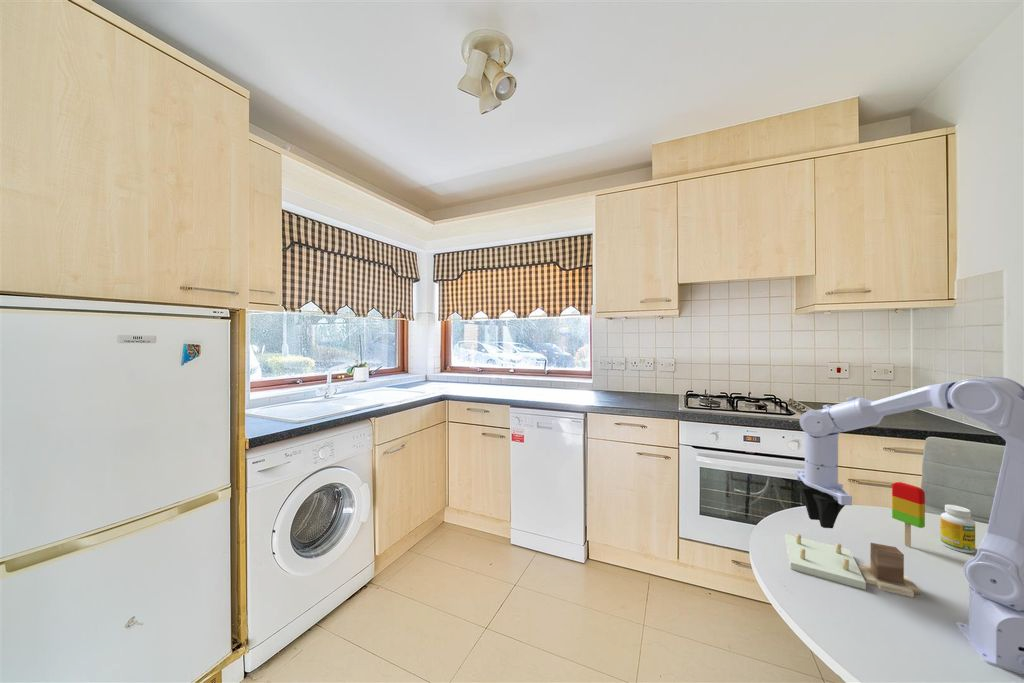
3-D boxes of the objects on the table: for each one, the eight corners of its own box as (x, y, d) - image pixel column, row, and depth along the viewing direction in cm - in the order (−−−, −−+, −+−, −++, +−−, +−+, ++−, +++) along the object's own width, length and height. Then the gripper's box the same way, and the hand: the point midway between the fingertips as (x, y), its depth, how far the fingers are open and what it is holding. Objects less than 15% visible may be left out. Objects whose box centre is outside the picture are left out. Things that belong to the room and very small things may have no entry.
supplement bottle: (949, 540, 91) (950, 502, 91) (981, 552, 86) (981, 511, 86) (934, 542, 90) (934, 504, 90) (965, 555, 85) (965, 514, 85)
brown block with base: (925, 600, 70) (925, 564, 70) (870, 588, 74) (870, 553, 74) (901, 576, 77) (902, 543, 77) (853, 566, 81) (853, 534, 81)
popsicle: (890, 540, 91) (891, 480, 91) (895, 539, 91) (895, 480, 91) (920, 553, 86) (921, 489, 86) (925, 552, 86) (926, 488, 86)
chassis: (865, 589, 73) (865, 572, 73) (790, 569, 79) (790, 553, 79) (849, 555, 85) (849, 540, 85) (784, 540, 91) (784, 526, 91)
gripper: (868, 475, 74) (868, 541, 74) (817, 453, 89) (816, 509, 89) (830, 474, 75) (830, 539, 75) (786, 452, 90) (785, 507, 90)
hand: (820, 523), depth 82 cm, fingers open, 3 cm apart
